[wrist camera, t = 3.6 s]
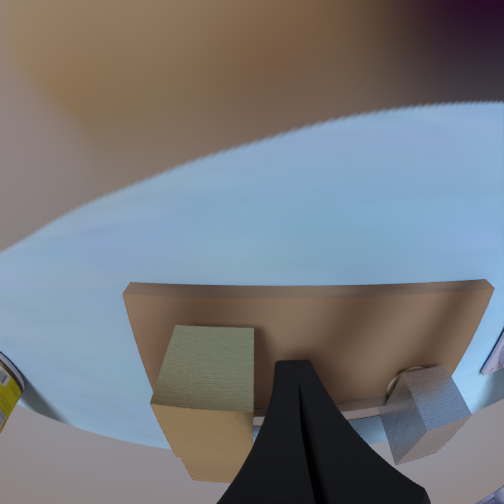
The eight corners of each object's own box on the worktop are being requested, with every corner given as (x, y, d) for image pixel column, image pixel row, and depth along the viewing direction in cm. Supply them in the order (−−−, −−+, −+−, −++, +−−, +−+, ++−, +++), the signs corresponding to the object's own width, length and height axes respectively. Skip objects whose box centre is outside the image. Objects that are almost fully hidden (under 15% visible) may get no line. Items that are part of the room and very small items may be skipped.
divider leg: (254, 314, 11) (253, 411, 7) (252, 419, 15) (251, 488, 10) (179, 312, 11) (149, 403, 7) (201, 417, 15) (191, 484, 10)
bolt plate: (485, 279, 12) (495, 289, 11) (429, 393, 16) (434, 403, 15) (130, 282, 12) (121, 295, 11) (167, 408, 17) (164, 421, 16)
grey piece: (444, 354, 13) (478, 412, 9) (420, 395, 15) (443, 449, 11) (161, 367, 13) (138, 444, 9) (175, 409, 15) (161, 475, 11)
